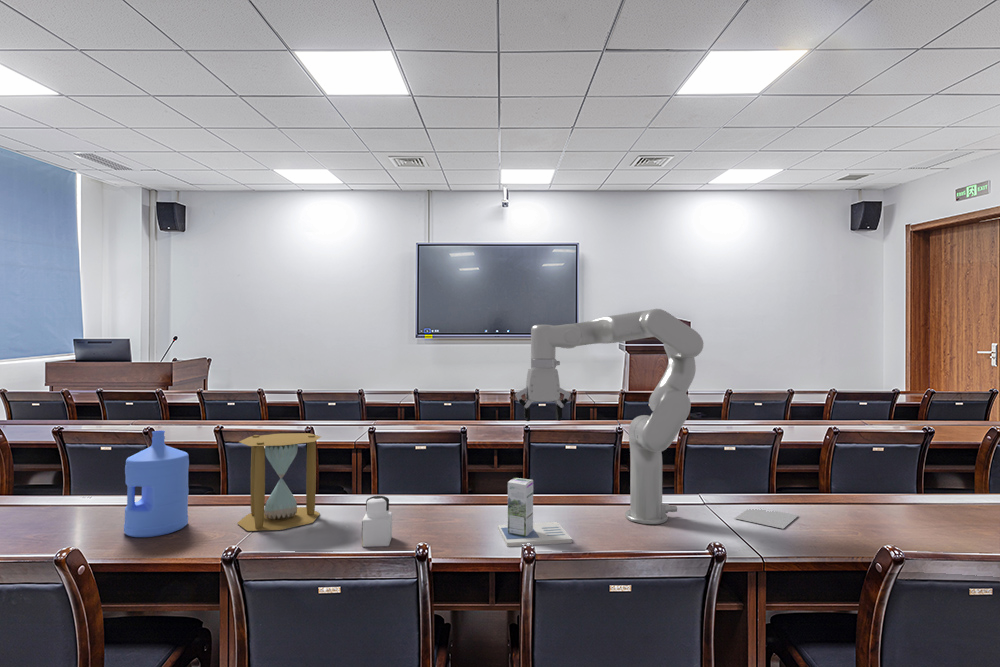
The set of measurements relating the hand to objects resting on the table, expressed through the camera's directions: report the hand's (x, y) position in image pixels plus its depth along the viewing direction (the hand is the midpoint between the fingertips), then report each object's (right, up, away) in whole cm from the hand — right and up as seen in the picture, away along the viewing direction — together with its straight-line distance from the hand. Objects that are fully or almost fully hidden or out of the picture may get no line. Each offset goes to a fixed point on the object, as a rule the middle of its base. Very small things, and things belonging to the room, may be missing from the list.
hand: (542, 420), depth 166 cm
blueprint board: (-4, -30, -14) cm, 34 cm away
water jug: (-112, -30, -10) cm, 117 cm away
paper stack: (+71, -31, -4) cm, 77 cm away
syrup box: (-7, -29, -15) cm, 34 cm away
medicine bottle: (-46, -30, -20) cm, 59 cm away
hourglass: (-80, -30, -2) cm, 86 cm away
